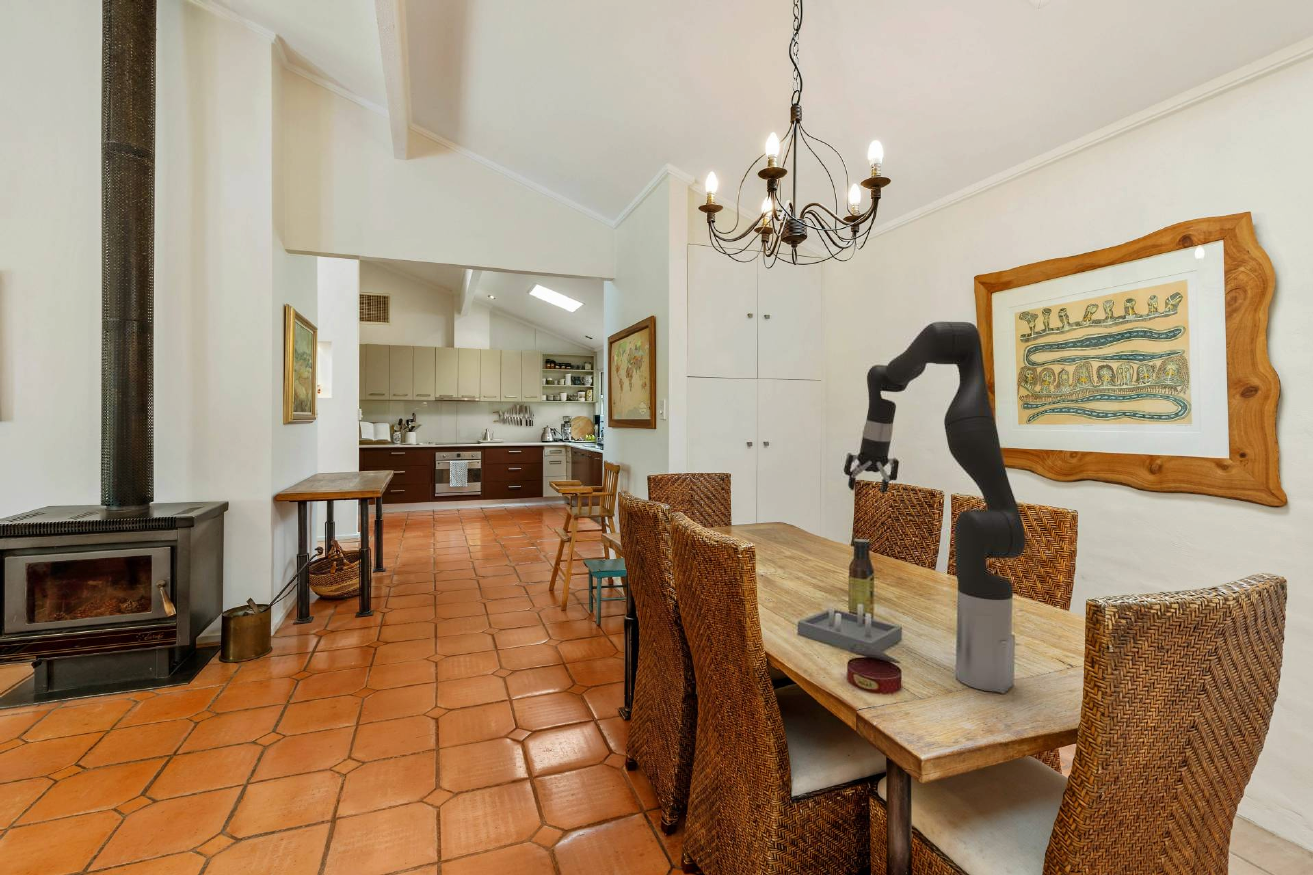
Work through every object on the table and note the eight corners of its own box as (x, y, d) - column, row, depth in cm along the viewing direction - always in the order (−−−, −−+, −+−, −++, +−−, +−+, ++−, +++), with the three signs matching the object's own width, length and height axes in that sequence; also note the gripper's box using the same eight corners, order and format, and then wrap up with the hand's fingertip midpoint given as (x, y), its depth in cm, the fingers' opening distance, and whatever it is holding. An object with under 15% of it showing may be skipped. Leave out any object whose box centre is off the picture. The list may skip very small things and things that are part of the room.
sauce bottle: (875, 622, 144) (877, 543, 144) (849, 620, 146) (851, 542, 145) (871, 614, 151) (873, 538, 150) (846, 612, 152) (847, 537, 152)
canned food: (844, 701, 113) (829, 648, 117) (890, 691, 115) (873, 639, 119) (873, 699, 103) (854, 641, 107) (922, 688, 105) (902, 631, 109)
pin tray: (901, 639, 133) (902, 611, 133) (870, 657, 123) (870, 627, 123) (831, 619, 146) (831, 594, 146) (797, 633, 136) (798, 606, 136)
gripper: (853, 437, 159) (844, 492, 163) (907, 442, 158) (896, 498, 162) (848, 430, 166) (839, 484, 170) (899, 436, 165) (888, 489, 169)
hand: (866, 491), depth 166 cm, fingers open, 8 cm apart
